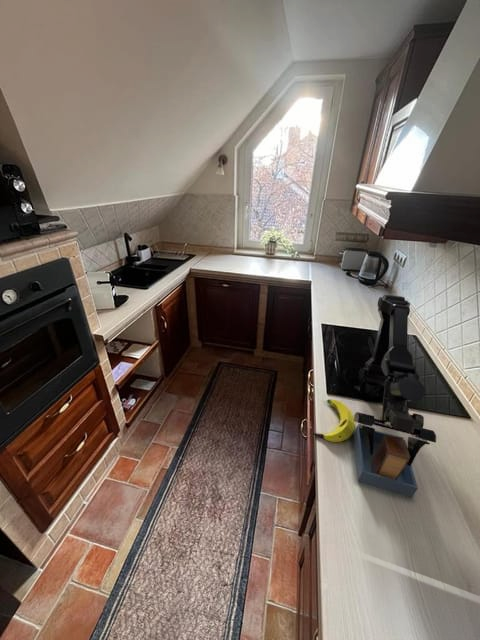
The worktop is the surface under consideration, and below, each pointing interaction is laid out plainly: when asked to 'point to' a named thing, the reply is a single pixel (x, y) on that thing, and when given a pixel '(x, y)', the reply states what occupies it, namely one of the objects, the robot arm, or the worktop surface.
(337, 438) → the banana
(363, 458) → the blue tray
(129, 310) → the worktop surface
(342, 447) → the worktop surface
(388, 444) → the brown wooden block
